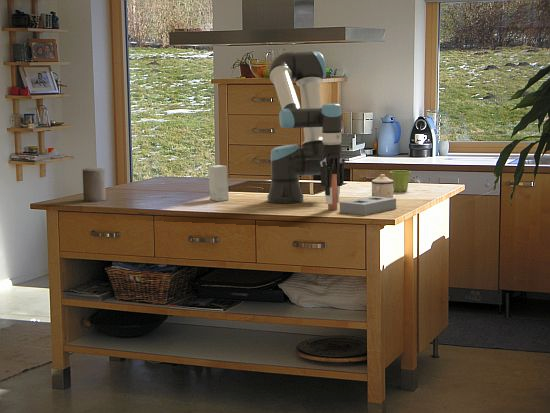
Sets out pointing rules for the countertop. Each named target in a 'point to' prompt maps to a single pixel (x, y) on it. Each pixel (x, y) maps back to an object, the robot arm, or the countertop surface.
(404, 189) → the plant pot
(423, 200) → the countertop surface
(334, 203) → the dowel
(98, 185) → the pillar candle
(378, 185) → the teacup with lid
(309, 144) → the robot arm
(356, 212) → the bore block
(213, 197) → the skincare box
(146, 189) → the countertop surface
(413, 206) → the countertop surface
